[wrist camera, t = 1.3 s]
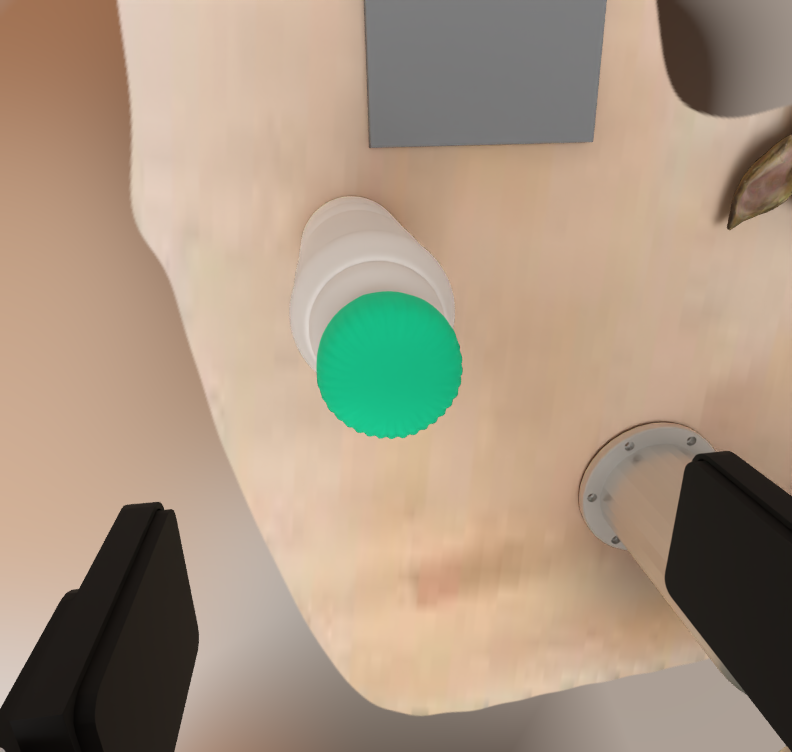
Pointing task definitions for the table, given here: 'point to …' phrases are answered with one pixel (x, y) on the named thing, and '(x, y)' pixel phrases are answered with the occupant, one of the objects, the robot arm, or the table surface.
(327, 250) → the water bottle
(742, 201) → the ceramic sculpture
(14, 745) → the robot arm
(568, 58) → the slate mat
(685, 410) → the table surface
